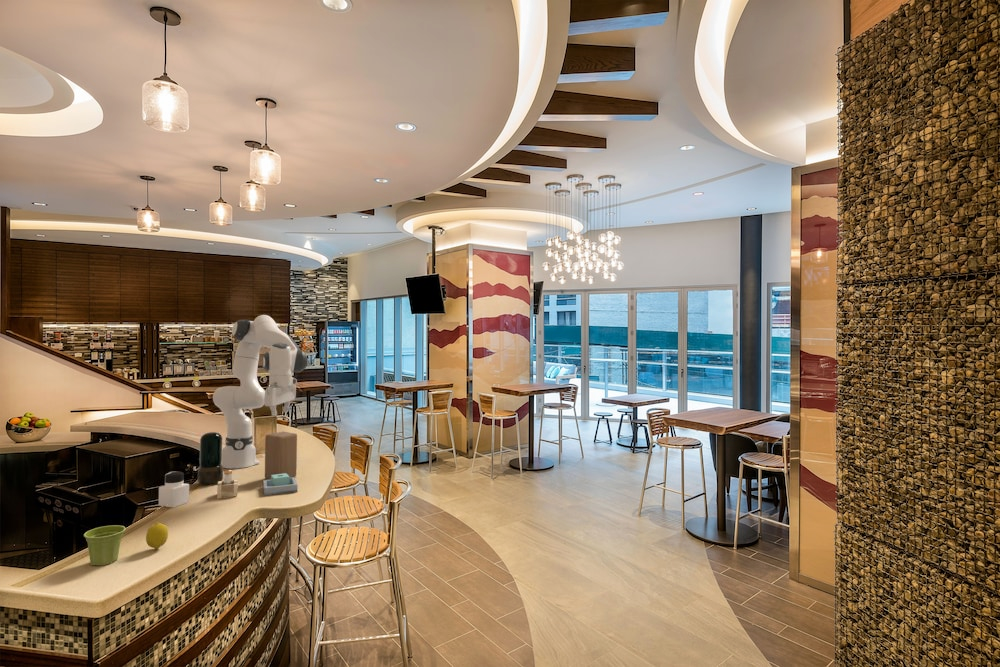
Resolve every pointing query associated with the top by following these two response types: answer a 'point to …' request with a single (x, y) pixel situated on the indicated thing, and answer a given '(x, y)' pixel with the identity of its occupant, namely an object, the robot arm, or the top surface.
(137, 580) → the top surface
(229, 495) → the wide bore block
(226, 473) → the cylinder
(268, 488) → the tray
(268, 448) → the block
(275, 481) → the narrow bore block
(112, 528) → the plant pot
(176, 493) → the medicine bottle
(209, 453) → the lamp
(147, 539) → the lemon
